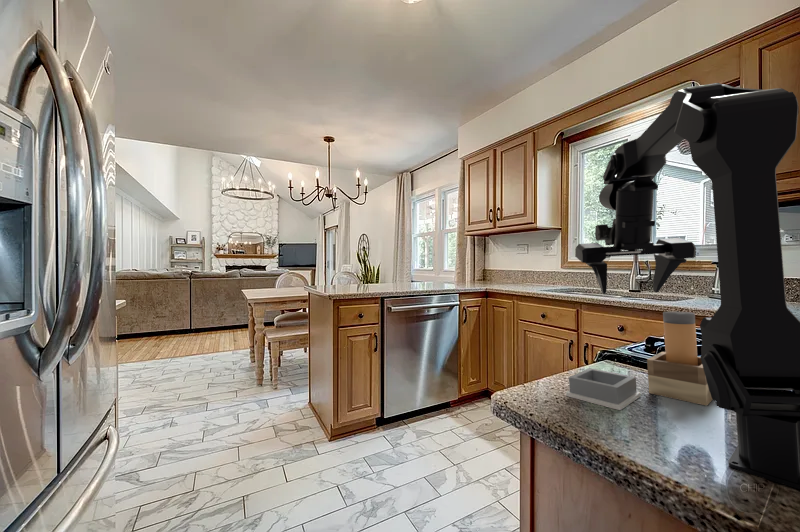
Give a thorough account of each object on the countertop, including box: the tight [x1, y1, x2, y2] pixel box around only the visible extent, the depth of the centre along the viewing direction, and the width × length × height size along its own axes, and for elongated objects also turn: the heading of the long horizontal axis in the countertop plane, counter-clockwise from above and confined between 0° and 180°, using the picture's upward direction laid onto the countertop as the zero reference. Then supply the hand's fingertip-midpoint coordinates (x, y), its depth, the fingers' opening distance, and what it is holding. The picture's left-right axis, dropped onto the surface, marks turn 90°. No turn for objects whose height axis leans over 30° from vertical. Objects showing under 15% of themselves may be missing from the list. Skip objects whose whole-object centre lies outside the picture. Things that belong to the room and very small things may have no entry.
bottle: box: [662, 310, 698, 366], centre depth 55 cm, size 4×4×10 cm
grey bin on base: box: [565, 367, 642, 411], centre depth 56 cm, size 8×8×3 cm
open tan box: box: [646, 351, 714, 406], centre depth 55 cm, size 7×7×6 cm
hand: (629, 292), depth 68 cm, fingers open, 9 cm apart
